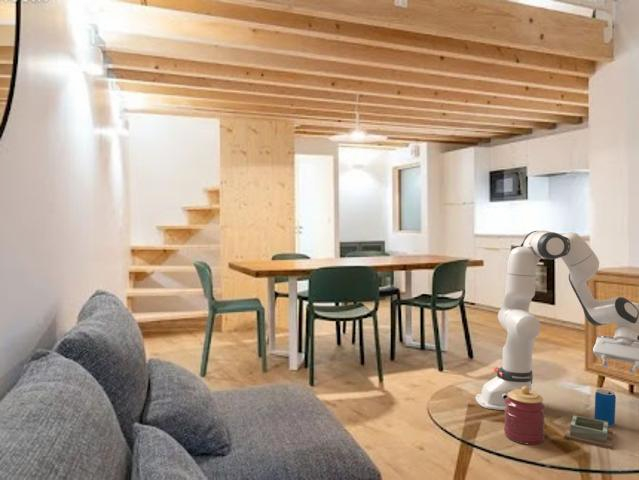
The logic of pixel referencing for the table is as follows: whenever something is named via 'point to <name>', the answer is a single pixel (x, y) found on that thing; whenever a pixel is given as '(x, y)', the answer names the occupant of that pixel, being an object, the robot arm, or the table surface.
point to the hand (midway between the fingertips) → (617, 369)
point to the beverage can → (605, 406)
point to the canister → (524, 416)
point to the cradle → (589, 431)
